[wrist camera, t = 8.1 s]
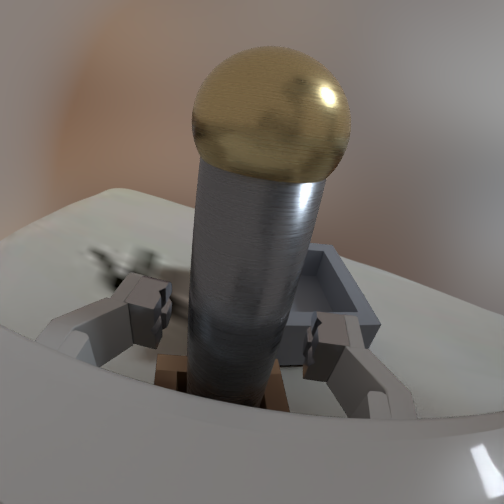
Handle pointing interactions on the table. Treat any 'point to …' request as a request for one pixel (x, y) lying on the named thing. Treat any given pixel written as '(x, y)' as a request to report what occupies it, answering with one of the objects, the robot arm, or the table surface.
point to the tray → (324, 301)
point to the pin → (255, 210)
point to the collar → (175, 378)
